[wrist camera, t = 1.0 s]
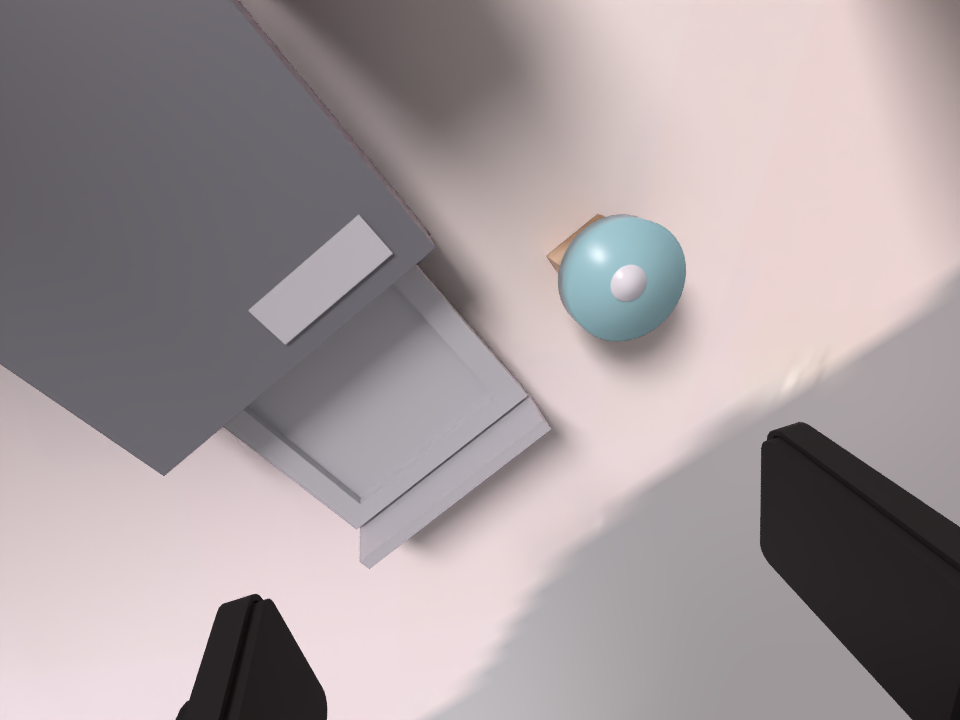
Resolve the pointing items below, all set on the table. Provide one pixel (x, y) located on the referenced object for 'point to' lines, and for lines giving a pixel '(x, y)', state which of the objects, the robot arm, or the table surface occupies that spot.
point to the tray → (393, 416)
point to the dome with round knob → (621, 277)
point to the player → (175, 216)
